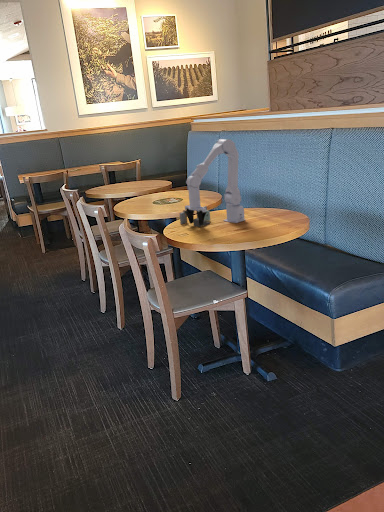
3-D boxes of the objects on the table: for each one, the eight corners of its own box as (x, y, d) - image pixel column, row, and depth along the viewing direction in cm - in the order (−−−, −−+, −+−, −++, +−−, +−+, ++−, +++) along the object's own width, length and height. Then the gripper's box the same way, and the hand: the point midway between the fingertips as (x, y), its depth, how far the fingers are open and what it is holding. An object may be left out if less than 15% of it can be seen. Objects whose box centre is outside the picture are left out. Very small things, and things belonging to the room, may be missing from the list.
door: (199, 218, 256) (198, 209, 254) (210, 220, 249) (209, 210, 248) (197, 219, 255) (196, 209, 253) (208, 221, 248) (207, 211, 247)
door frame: (207, 216, 260) (207, 204, 258) (182, 224, 248) (181, 211, 245) (205, 216, 261) (205, 204, 259) (180, 223, 249) (179, 211, 247)
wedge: (199, 227, 238) (198, 220, 237) (193, 226, 242) (193, 219, 240) (210, 224, 243) (209, 217, 242) (204, 223, 247) (203, 216, 245)
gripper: (179, 198, 238) (181, 223, 242) (198, 201, 228) (200, 227, 232) (189, 196, 242) (191, 221, 247) (208, 198, 232) (210, 224, 236)
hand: (196, 223), depth 239 cm, fingers open, 7 cm apart
